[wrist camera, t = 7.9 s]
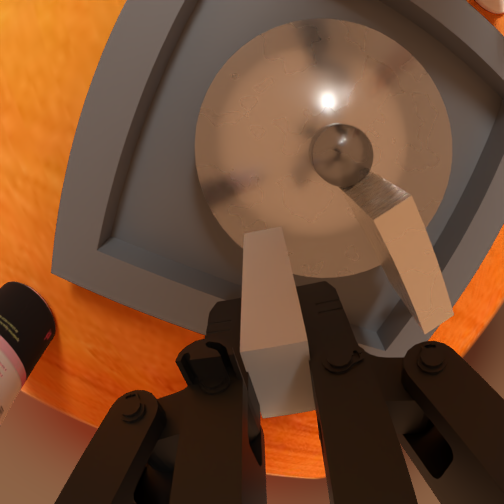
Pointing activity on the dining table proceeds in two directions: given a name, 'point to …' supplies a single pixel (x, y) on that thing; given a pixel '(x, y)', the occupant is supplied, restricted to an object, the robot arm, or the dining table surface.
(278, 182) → the dial
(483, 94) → the panel
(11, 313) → the beverage can
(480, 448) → the robot arm
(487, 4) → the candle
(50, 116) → the dining table surface
